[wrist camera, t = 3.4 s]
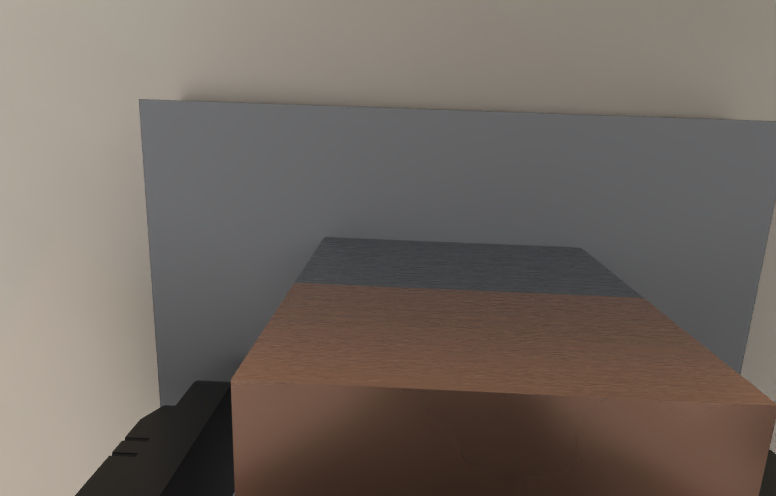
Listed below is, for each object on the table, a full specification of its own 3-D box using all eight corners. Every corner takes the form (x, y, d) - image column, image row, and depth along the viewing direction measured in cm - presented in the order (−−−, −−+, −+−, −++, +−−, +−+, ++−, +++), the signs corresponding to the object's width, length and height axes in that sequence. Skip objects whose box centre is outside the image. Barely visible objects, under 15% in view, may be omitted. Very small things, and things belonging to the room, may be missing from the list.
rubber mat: (729, 119, 12) (790, 121, 10) (649, 579, 15) (684, 649, 13) (180, 100, 12) (138, 99, 11) (204, 554, 15) (175, 618, 13)
